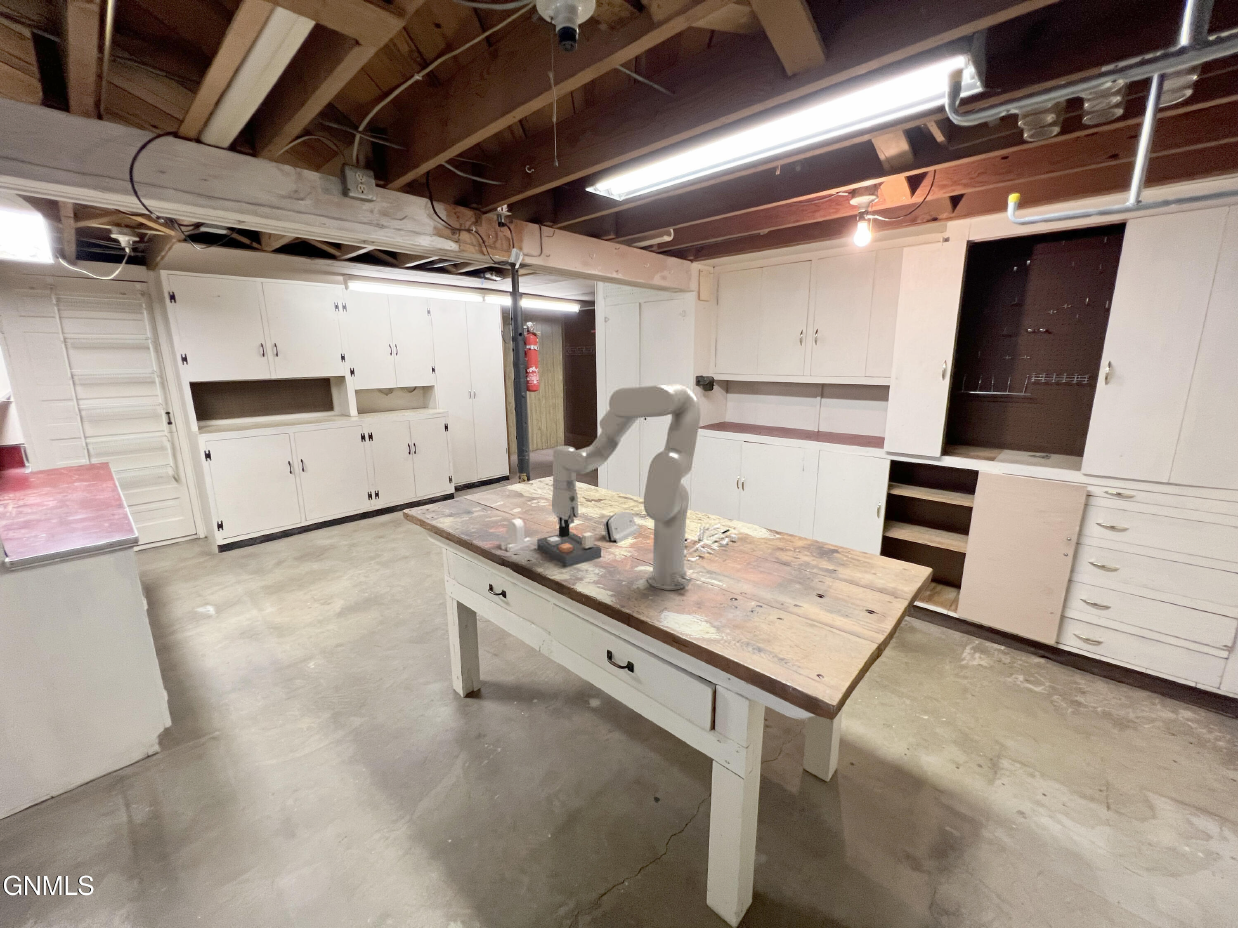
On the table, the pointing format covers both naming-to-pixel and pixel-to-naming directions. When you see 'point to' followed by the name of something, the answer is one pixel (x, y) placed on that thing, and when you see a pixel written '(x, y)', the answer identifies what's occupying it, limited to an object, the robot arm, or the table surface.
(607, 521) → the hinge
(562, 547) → the terracotta key
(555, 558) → the control panel
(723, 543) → the miniature set
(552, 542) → the grey key
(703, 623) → the table surface
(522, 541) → the cable organizer
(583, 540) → the cream tall block
